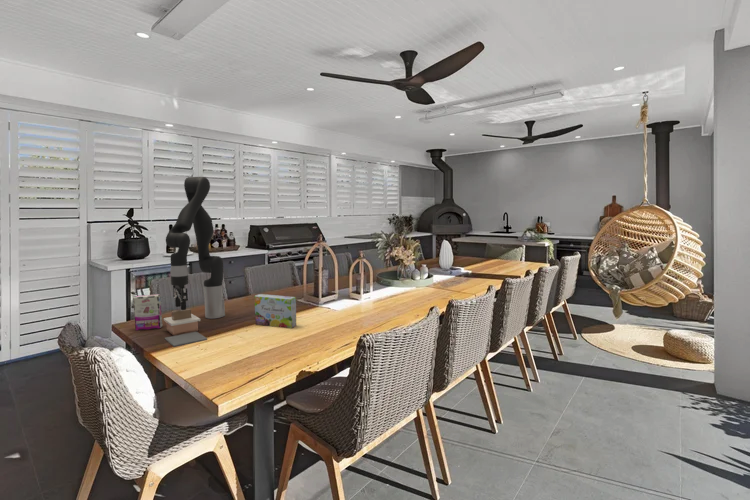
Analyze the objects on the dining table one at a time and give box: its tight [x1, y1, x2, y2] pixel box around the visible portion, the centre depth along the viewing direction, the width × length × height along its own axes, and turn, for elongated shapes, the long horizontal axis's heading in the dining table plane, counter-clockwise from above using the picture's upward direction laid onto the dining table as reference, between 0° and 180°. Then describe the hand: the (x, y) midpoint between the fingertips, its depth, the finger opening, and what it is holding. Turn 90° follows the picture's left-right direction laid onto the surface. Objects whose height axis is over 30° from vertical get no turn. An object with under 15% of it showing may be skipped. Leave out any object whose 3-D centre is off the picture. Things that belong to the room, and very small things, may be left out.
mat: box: [164, 331, 208, 348], centre depth 185 cm, size 14×14×1 cm
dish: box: [165, 321, 199, 336], centre depth 198 cm, size 11×11×5 cm
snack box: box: [253, 293, 297, 329], centre depth 207 cm, size 21×6×15 cm, turn 71°
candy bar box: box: [132, 293, 163, 331], centre depth 202 cm, size 11×5×16 cm, turn 105°
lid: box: [162, 308, 201, 326], centre depth 198 cm, size 13×13×5 cm
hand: (180, 308), depth 197 cm, fingers open, 8 cm apart
